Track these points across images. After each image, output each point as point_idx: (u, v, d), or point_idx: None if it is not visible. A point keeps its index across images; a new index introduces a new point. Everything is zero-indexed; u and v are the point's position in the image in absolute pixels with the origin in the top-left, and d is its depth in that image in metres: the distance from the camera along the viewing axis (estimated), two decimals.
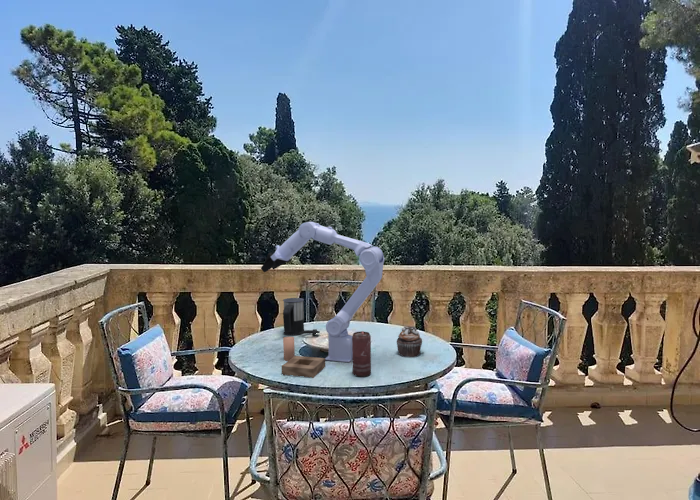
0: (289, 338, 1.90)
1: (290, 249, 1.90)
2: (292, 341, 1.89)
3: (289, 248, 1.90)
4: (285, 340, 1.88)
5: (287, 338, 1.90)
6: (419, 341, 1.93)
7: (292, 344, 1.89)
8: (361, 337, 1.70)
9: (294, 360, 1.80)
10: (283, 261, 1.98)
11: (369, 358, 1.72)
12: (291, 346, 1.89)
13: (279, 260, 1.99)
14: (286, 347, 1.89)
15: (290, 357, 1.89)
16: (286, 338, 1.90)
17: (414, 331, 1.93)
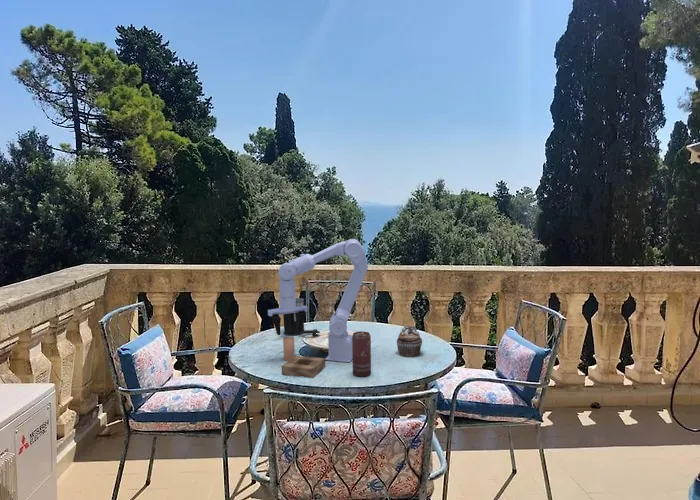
0: (289, 338, 1.90)
1: (281, 298, 1.86)
2: (292, 341, 1.89)
3: (281, 298, 1.87)
4: (285, 340, 1.88)
5: (287, 338, 1.90)
6: (419, 341, 1.93)
7: (292, 344, 1.89)
8: (361, 337, 1.70)
9: (294, 360, 1.80)
10: (299, 318, 1.90)
11: (369, 358, 1.72)
12: (291, 346, 1.89)
13: (297, 320, 1.91)
14: (286, 347, 1.89)
15: (290, 357, 1.89)
16: (286, 338, 1.90)
17: (414, 331, 1.93)
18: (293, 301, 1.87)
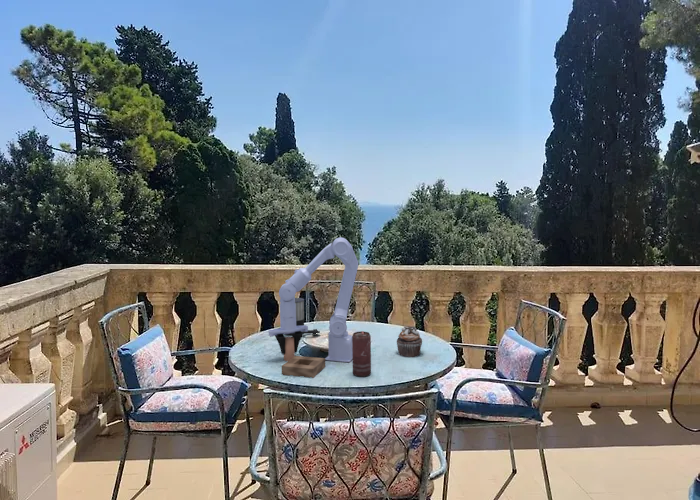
0: (289, 338, 1.90)
1: (282, 318, 1.87)
2: (292, 341, 1.89)
3: (281, 318, 1.87)
4: (285, 340, 1.88)
5: (287, 338, 1.90)
6: (419, 341, 1.93)
7: (292, 344, 1.89)
8: (361, 337, 1.70)
9: (294, 360, 1.80)
10: (295, 338, 1.90)
11: (369, 358, 1.72)
12: (291, 346, 1.89)
13: (294, 340, 1.91)
14: (286, 347, 1.89)
15: (290, 357, 1.89)
16: (286, 338, 1.90)
17: (414, 331, 1.93)
18: (294, 321, 1.88)
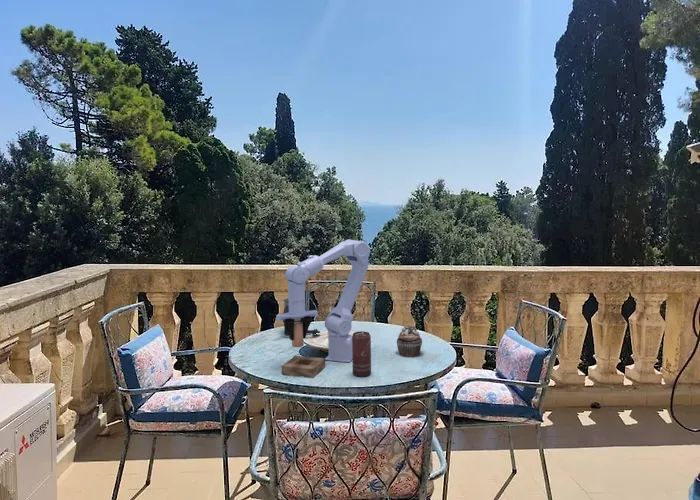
0: (297, 323, 1.81)
1: (290, 302, 1.78)
2: (301, 326, 1.80)
3: (290, 302, 1.79)
4: None
5: (295, 323, 1.81)
6: (419, 341, 1.93)
7: (301, 329, 1.80)
8: (361, 337, 1.70)
9: (294, 360, 1.80)
10: (304, 324, 1.81)
11: (369, 358, 1.72)
12: (300, 332, 1.80)
13: (303, 325, 1.82)
14: (294, 332, 1.80)
15: (299, 343, 1.80)
16: (294, 323, 1.81)
17: (414, 331, 1.93)
18: (303, 305, 1.79)
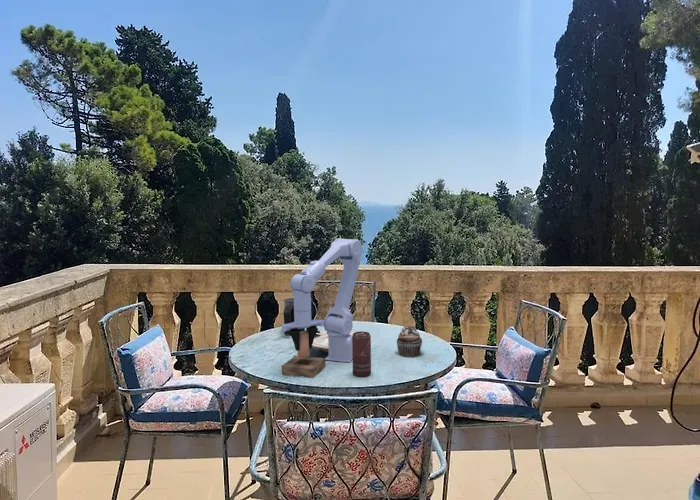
0: (303, 333, 1.77)
1: (296, 312, 1.74)
2: (307, 336, 1.76)
3: (295, 312, 1.74)
4: None
5: (301, 333, 1.77)
6: (419, 341, 1.93)
7: (307, 339, 1.76)
8: (361, 337, 1.70)
9: (294, 360, 1.80)
10: (310, 333, 1.77)
11: (369, 358, 1.72)
12: (306, 342, 1.76)
13: (309, 335, 1.78)
14: (300, 342, 1.76)
15: (305, 353, 1.76)
16: (300, 333, 1.77)
17: (414, 331, 1.93)
18: (309, 315, 1.75)
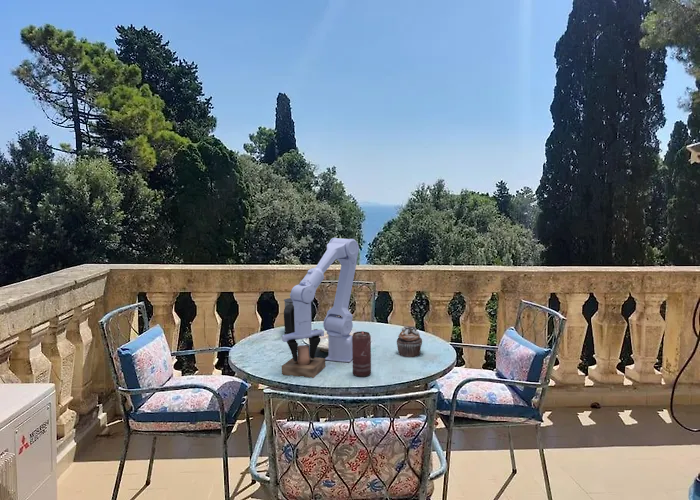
0: (304, 347, 1.77)
1: (297, 322, 1.74)
2: (307, 350, 1.77)
3: (296, 322, 1.75)
4: (299, 349, 1.76)
5: (301, 346, 1.78)
6: (419, 341, 1.93)
7: (307, 353, 1.77)
8: (361, 337, 1.70)
9: None
10: (313, 343, 1.78)
11: (369, 358, 1.72)
12: (306, 355, 1.76)
13: (311, 345, 1.79)
14: (300, 356, 1.76)
15: None
16: (300, 347, 1.77)
17: (414, 331, 1.93)
18: (309, 325, 1.75)
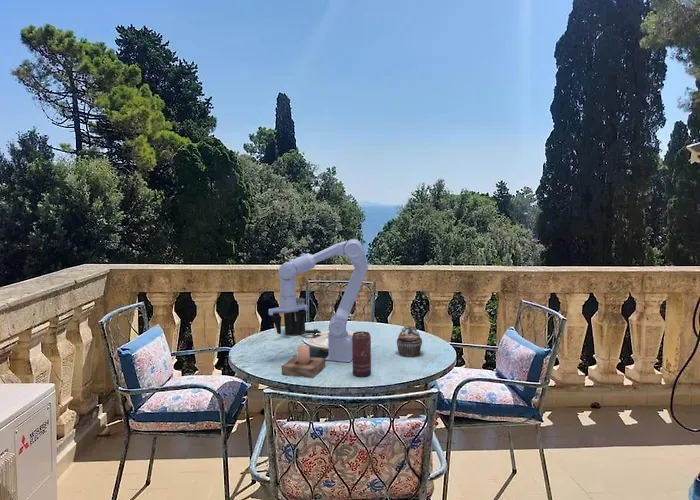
0: (304, 347, 1.77)
1: (282, 297, 1.87)
2: (307, 350, 1.76)
3: (281, 297, 1.88)
4: (300, 349, 1.76)
5: (302, 347, 1.77)
6: (419, 341, 1.93)
7: (307, 353, 1.77)
8: (361, 337, 1.70)
9: (294, 360, 1.80)
10: (299, 317, 1.91)
11: (369, 358, 1.72)
12: (306, 356, 1.76)
13: (298, 319, 1.92)
14: (300, 356, 1.76)
15: None
16: (301, 347, 1.77)
17: (414, 331, 1.93)
18: (293, 300, 1.88)
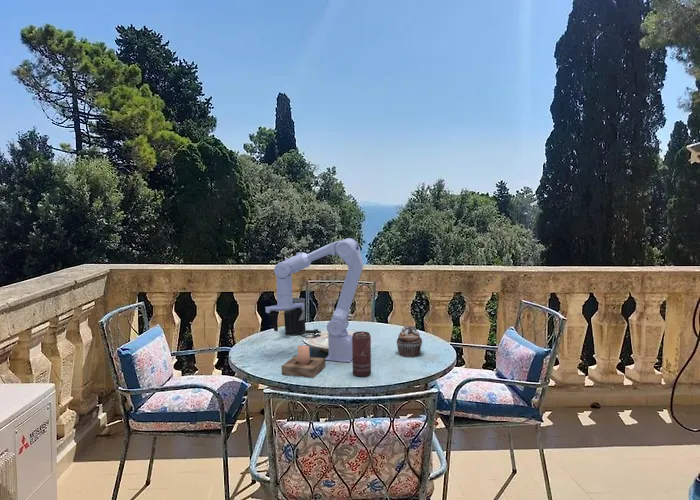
0: (304, 347, 1.77)
1: (279, 295, 1.91)
2: (307, 350, 1.76)
3: (278, 295, 1.91)
4: (300, 349, 1.76)
5: (302, 347, 1.77)
6: (419, 341, 1.93)
7: (307, 353, 1.77)
8: (361, 337, 1.70)
9: (294, 360, 1.80)
10: (296, 315, 1.94)
11: (369, 358, 1.72)
12: (306, 356, 1.76)
13: (294, 317, 1.96)
14: (300, 356, 1.76)
15: None
16: (301, 347, 1.77)
17: (414, 331, 1.93)
18: (290, 298, 1.92)
